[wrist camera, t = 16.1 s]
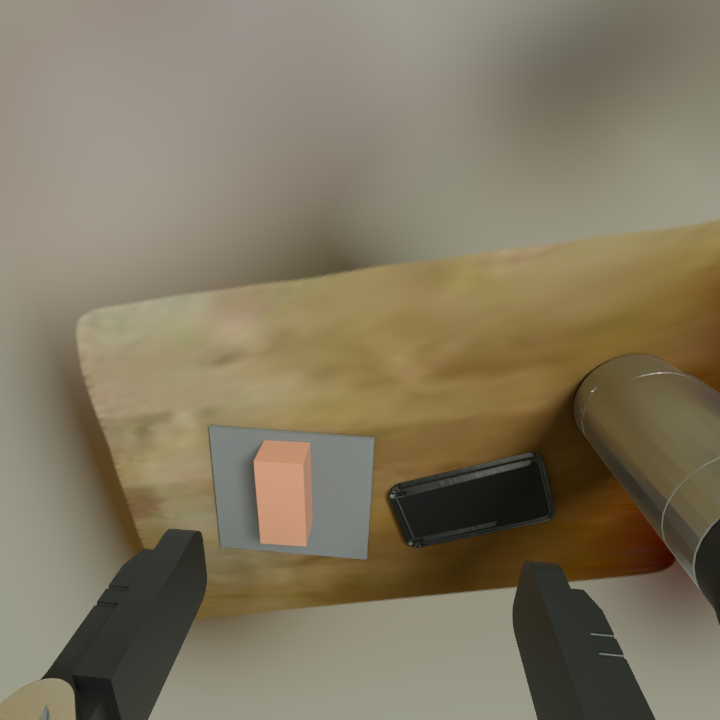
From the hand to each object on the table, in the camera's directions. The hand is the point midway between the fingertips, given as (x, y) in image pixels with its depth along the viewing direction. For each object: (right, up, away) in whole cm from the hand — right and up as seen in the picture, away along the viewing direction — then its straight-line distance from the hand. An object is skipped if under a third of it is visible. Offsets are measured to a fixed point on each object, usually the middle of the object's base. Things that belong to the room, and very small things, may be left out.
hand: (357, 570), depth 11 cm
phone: (+11, -9, +34) cm, 36 cm away
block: (-7, -12, +33) cm, 36 cm away
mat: (-7, -9, +34) cm, 36 cm away
